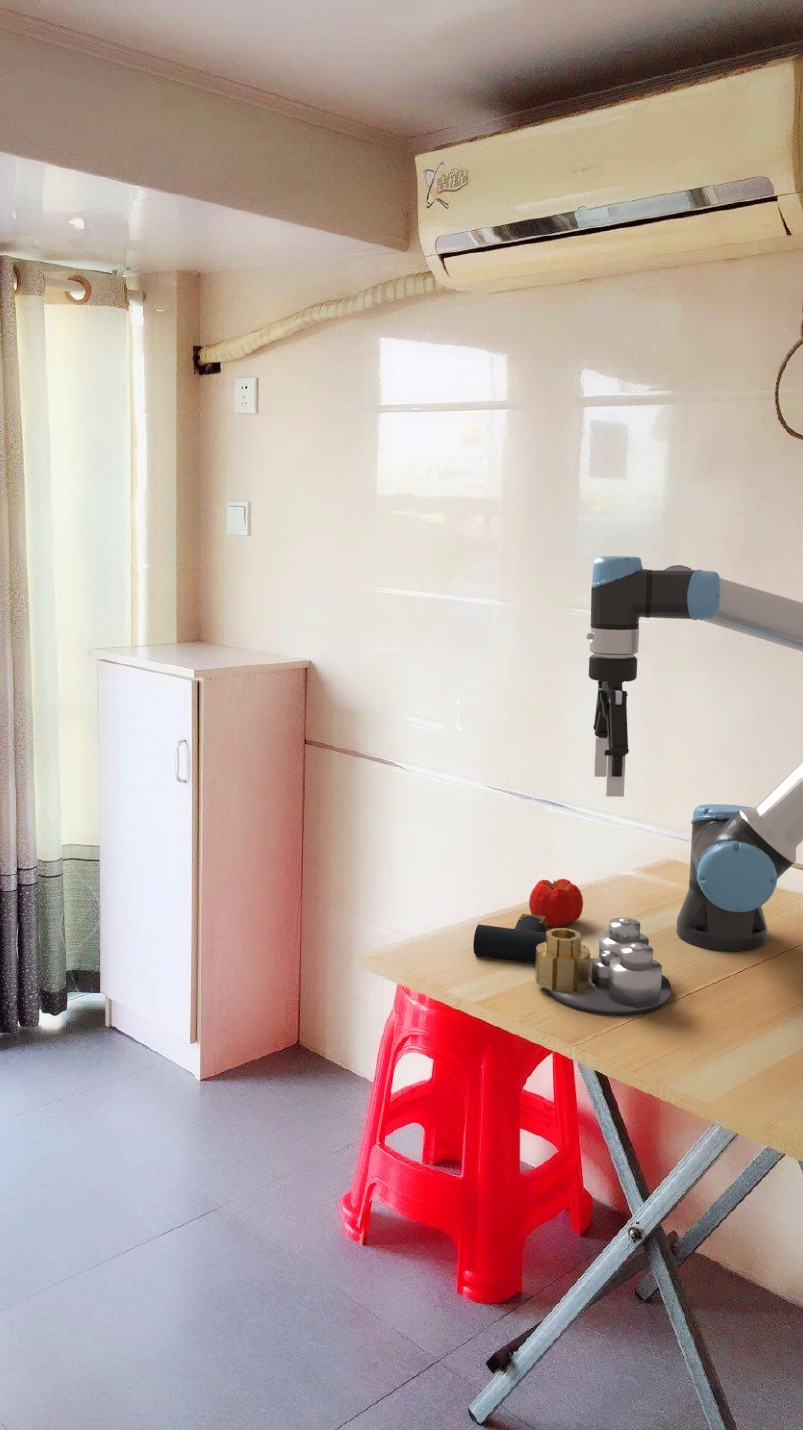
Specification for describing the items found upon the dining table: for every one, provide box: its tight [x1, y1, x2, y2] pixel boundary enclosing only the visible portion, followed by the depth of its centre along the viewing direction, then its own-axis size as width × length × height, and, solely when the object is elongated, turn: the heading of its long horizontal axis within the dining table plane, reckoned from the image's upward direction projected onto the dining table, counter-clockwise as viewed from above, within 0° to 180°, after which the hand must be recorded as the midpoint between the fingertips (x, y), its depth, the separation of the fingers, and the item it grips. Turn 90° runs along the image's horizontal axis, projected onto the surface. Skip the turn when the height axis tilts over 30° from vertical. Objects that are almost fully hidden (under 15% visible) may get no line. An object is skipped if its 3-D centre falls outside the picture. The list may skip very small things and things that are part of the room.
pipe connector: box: [472, 913, 548, 964], centre depth 193 cm, size 12×5×15 cm
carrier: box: [545, 917, 672, 1017], centre depth 178 cm, size 19×19×9 cm
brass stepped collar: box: [534, 927, 591, 992], centre depth 178 cm, size 8×8×8 cm
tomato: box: [528, 878, 584, 928], centre depth 207 cm, size 9×9×8 cm
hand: (608, 786), depth 187 cm, fingers open, 13 cm apart
